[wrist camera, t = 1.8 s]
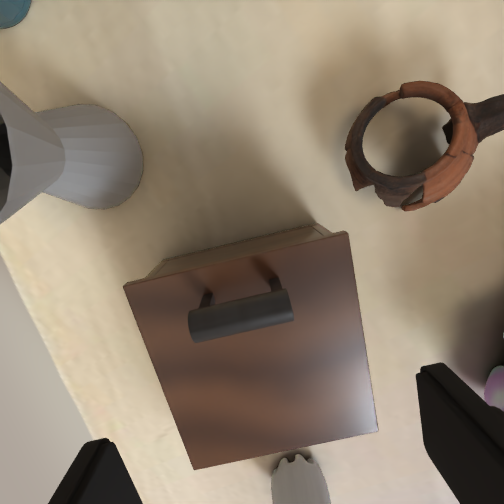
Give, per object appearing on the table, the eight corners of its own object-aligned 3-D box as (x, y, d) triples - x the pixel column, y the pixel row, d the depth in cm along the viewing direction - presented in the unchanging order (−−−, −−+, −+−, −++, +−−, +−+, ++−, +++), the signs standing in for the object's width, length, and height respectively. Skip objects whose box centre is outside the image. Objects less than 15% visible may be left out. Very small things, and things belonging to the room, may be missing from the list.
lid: (126, 282, 20) (86, 319, 15) (344, 229, 19) (380, 249, 14) (195, 461, 24) (182, 537, 19) (374, 423, 23) (410, 491, 18)
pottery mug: (376, 234, 28) (374, 224, 20) (333, 152, 30) (316, 116, 22) (521, 167, 23) (587, 122, 16) (460, 76, 25) (493, -1, 18)
